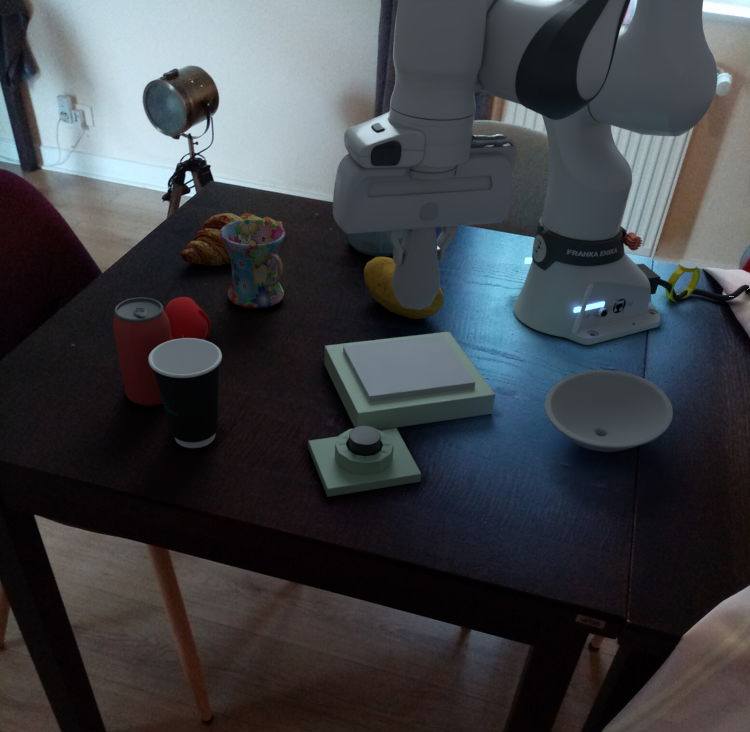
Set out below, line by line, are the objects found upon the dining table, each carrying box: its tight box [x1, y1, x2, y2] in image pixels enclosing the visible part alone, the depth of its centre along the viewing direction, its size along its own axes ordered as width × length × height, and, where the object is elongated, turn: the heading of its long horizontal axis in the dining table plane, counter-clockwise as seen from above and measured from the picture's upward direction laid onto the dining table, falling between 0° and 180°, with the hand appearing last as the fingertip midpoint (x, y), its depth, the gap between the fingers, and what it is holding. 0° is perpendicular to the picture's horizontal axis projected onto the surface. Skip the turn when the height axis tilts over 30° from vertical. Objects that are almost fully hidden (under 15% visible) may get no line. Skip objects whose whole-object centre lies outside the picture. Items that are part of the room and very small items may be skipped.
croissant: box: [180, 212, 284, 267], centre depth 130 cm, size 21×10×8 cm, turn 139°
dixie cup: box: [148, 338, 223, 449], centre depth 90 cm, size 8×8×11 cm
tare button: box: [349, 426, 381, 456], centre depth 89 cm, size 4×4×2 cm
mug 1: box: [220, 219, 286, 310], centre depth 115 cm, size 12×9×11 cm
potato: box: [363, 256, 444, 320], centre depth 117 cm, size 7×14×7 cm, turn 39°
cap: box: [163, 296, 211, 341], centre depth 107 cm, size 8×6×6 cm
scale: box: [324, 331, 496, 430], centre depth 102 cm, size 18×16×4 cm
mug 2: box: [346, 230, 405, 257], centre depth 131 cm, size 15×11×10 cm
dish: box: [544, 369, 674, 453], centre depth 95 cm, size 18×14×5 cm
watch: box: [664, 260, 701, 303], centre depth 125 cm, size 6×3×6 cm, turn 120°
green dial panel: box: [307, 427, 422, 498], centre depth 90 cm, size 11×9×3 cm
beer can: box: [112, 297, 172, 407], centre depth 95 cm, size 7×7×12 cm
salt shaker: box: [391, 203, 441, 310], centre depth 90 cm, size 6×6×13 cm
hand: (418, 262), depth 91 cm, fingers closed on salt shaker, 3 cm apart
